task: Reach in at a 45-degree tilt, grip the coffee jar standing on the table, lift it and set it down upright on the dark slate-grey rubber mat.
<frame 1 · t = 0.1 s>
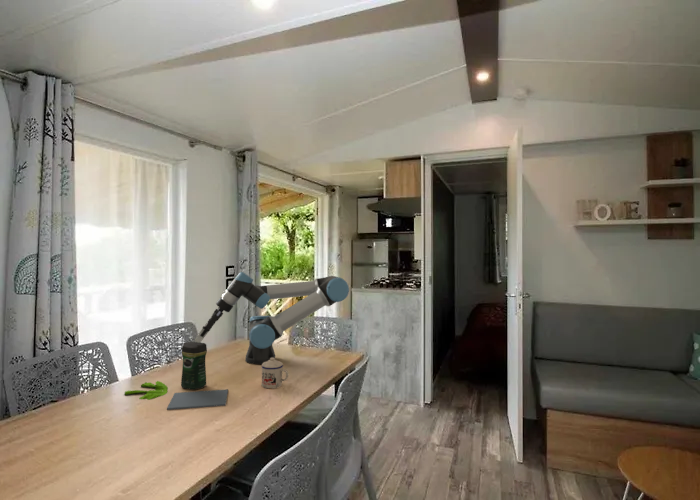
hand: (198, 338, 180), 15 cm above the table, tool tilted 35°, fingers open, 13 cm apart
mat: (199, 399, 147), on the table
cloth: (146, 391, 156), on the table
coffee jar: (193, 387, 161), on the table
teacup with lid: (274, 386, 164), on the table
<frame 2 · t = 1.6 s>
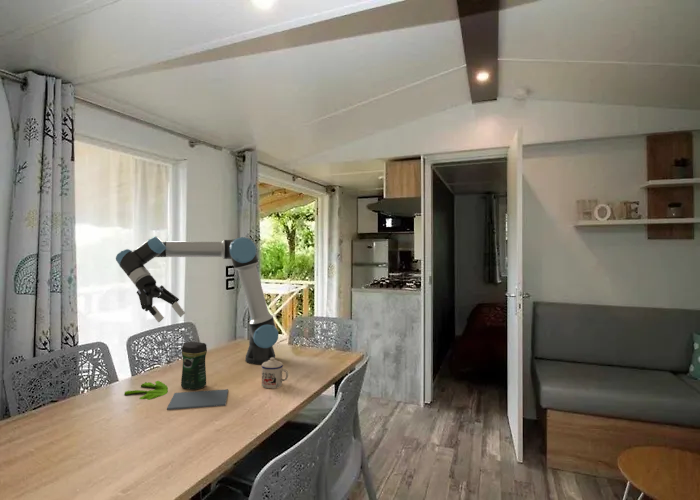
hand: (172, 317, 163), 28 cm above the table, tool tilted 45°, fingers open, 13 cm apart
nothing on the table moved.
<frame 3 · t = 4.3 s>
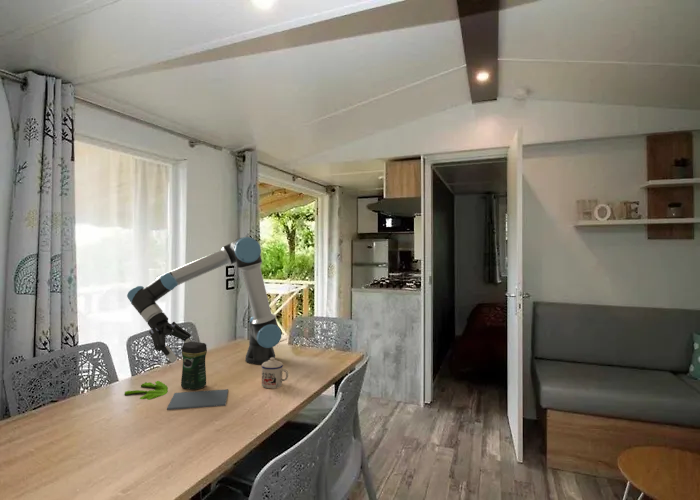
hand: (185, 355, 161), 13 cm above the table, tool tilted 45°, fingers open, 13 cm apart
nothing on the table moved.
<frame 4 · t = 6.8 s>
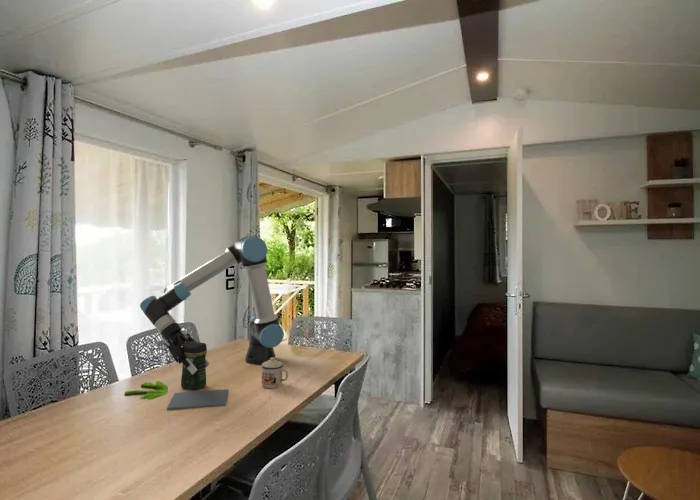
hand: (201, 369, 160), 8 cm above the table, tool tilted 45°, fingers closed on coffee jar, 8 cm apart
coffee jar: (193, 387, 161), on the table, touching gripper
everything else where it was.
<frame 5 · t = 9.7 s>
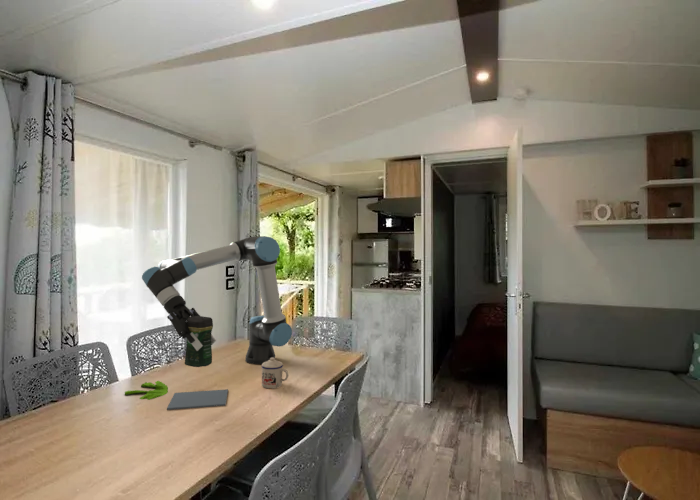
hand: (206, 345, 147), 21 cm above the table, tool tilted 45°, fingers closed on coffee jar, 8 cm apart
coffee jar: (198, 365, 148), point 13 cm above the table, touching gripper
everything else where it was.
when the fingers open (10 cm above the table, at t = 12.8 s): coffee jar drops 1 cm, resting on mat.
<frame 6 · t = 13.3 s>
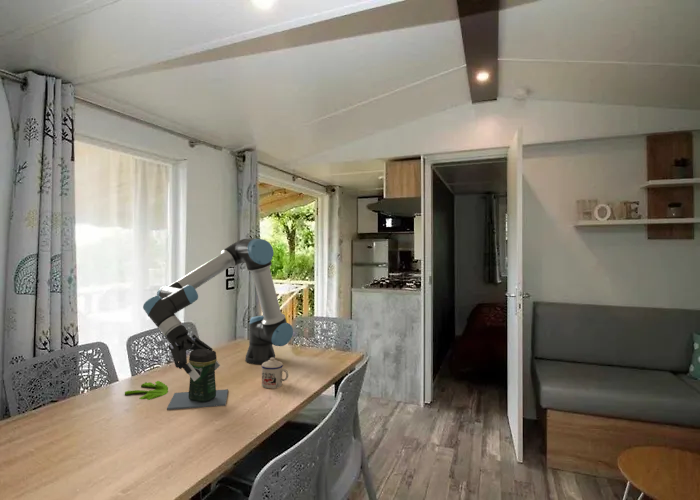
hand: (208, 373, 146), 11 cm above the table, tool tilted 45°, fingers open, 13 cm apart
coffee jar: (202, 399, 147), resting on mat
everything else where it was.
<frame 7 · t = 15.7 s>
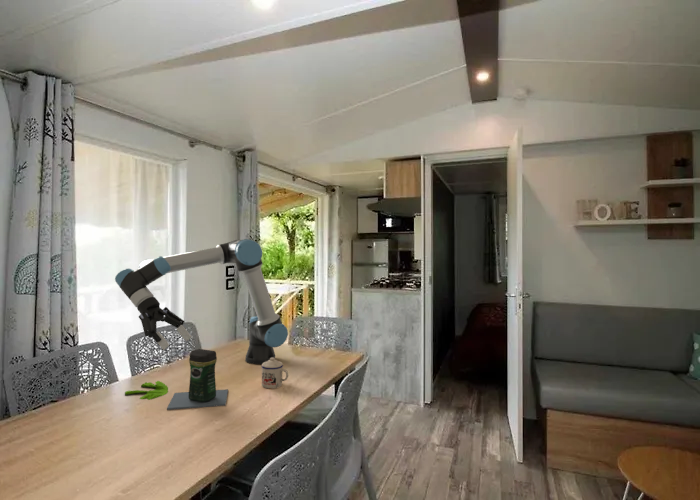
hand: (178, 343, 149), 21 cm above the table, tool tilted 45°, fingers open, 13 cm apart
nothing on the table moved.
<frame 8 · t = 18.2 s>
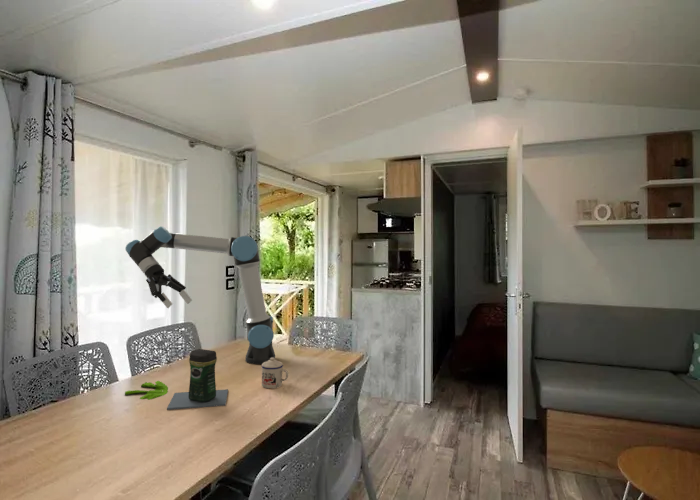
hand: (180, 304, 171), 33 cm above the table, tool tilted 45°, fingers open, 13 cm apart
nothing on the table moved.
at the end: coffee jar inside the target area on the mat (1.3 cm from its centre), point 0.4 cm above the mat's base; coffee jar tilted 0°; the gripper is holding nothing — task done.
